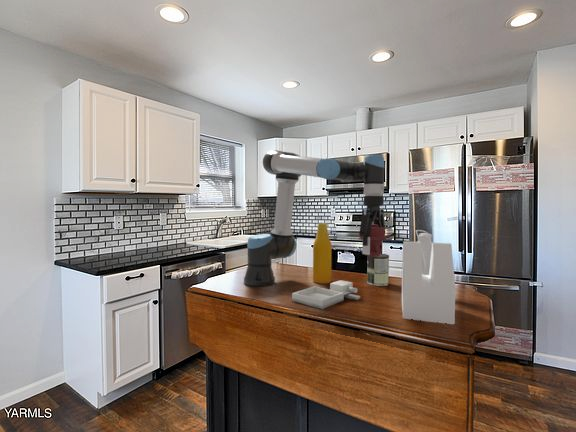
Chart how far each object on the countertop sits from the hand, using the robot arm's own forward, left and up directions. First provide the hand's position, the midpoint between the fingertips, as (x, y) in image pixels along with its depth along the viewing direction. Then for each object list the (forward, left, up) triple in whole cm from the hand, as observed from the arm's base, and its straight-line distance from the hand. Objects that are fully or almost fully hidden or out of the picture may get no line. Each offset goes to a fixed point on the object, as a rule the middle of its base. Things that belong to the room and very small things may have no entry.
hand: (372, 252), depth 119 cm
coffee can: (-12, +30, -20) cm, 38 cm away
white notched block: (+19, +3, -20) cm, 28 cm away
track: (-11, 0, -20) cm, 23 cm away
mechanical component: (0, 0, -2) cm, 2 cm away
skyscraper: (+11, +27, -20) cm, 35 cm away
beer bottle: (-34, +14, -20) cm, 42 cm away
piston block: (-12, 0, -18) cm, 22 cm away
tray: (-17, -13, -20) cm, 29 cm away
